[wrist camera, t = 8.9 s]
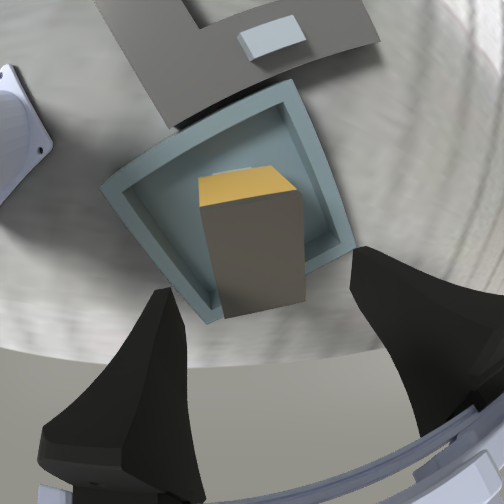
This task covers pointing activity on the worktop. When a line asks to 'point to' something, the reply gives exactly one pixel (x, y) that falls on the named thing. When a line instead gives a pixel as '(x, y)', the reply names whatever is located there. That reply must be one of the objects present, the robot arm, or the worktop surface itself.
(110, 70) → the worktop surface
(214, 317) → the parts tray
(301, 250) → the block
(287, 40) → the panel
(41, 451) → the robot arm
